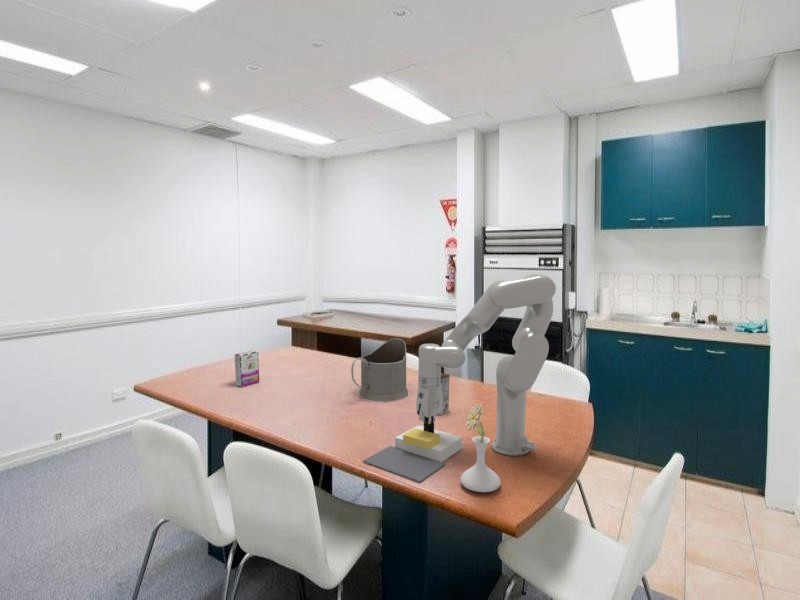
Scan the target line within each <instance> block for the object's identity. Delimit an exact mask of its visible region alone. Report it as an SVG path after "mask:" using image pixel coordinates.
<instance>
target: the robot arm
mask: <svg viewBox="0 0 800 600" xmlns="http://www.w3.org/2000/svg"><path fill="white" fill-rule="evenodd" d="M556 290H557V289H556V283H555V282H554V280H553V279H552V278H550V277H549V276H547V275H545V274H544V275H543V274H539V273H537V274H536V273H532V274H527V275H526V276H525V277H524V278H522V279H517V280H511V281H505V280H496V281H494V282H492V283H491V284H490V285H489V286H488V288H486V290H485V291H484V293H483V294H482V295H481V296H480V298H479V299H478V300H477V302H476V303H475V305H474V306H473V307H472V308H471V310H470V311H469V312H468V313H467V314H466V316H464V318H462V320H461V321H460V322H459V323H458V324H457V325H456V326H455V327H454V329H452V331H451V332H450V333H449V334H448V336H447V337H446V338H445V340H444V341H443V342H442V344H441V346H440V345H439V344H436V343H423V344H421V345H419V347H418V376H417V377H418V380H417V383H418V384H417V385H418V388H417V391H416V393H417V394H416V405H415V406H416V407H415V409H416V415H417V416H418V421H421V422H422V423H423V426H424V431H427V432H431V433H434V429H435V422H436V417H437V414H438V413H440V412H441V411H442V410H443V392H442V385H441V373H442V368H447V369H458V368H461V367H462V366H463V365H464V364H465V361H466V353H465V350H466V349H467V347H468V346H469V344H471V343H472V341H473V340H474V339H475V338H476V337H478V336H479V335H482V334H484V333H486V332H487V331H489V330H490V329H491V327H492V326H493V325H494V324H495V322H496V321H497V320H498V318H499V317H500V316H501V314H503V312H504V311H505V309H506V310H508V309H516V308H522V307H526V309H525V312H524V314H523V317H522V319H521V321H520V323H519V325H518V328H517V329H516V331H515V333H514V335H513V337H512V342H511V345H512V348H513V349H514V351H515V353H514V354H513V355H506V356H504V357H502V358H501V359H500V360H499V362H498V363H497V366H496V370H495V376H496V378H495V379H496V398H497V399H496V425H495V426H496V427H495V429H496V430H495V431H496V432H495V439H494V440H492V441H491V445H490V446H491V448H492V450H493V451H495V452H497V453H499V454H501V455H505V456H511V457H513V456H523V455H526V454H528V453H529V452H530V451H533V452H536V451H537V445H536V442H533V441H530V440H529V439H528V437H529V436H528V435H526V415H527V413H526V411H527V410H526V409H527V408H526V405H527V392H528V391H529V390H530V389H531V388H532V387H533V386H534V384H535V383H536V380H537V379H538V376H539V374H540V372H541V370H542V368H543V366H544V364H545V362H546V360H547V359H548V358H547V357H548V356H549V355H548V354H549V349H550V345H549V341H548V339H547V338H546V336H545V335H546V332H547V330H548V327H549V325H550V323H551V320H552V318H553V314H554V301H553V297H554V296H555V294H556Z"/></svg>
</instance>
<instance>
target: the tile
mask: <svg viewBox="0 0 800 600" xmlns="http://www.w3.org/2000/svg"><path fill="white" fill-rule="evenodd" d="M413 428H414V427H413ZM406 432H407V431H406ZM404 433H405V432H404ZM403 442H404V443H408V444H411V445H415V446H418V447H422V448H425V449H430V448H432V447H433V446H435V445H436V444H438V443H439V442H440V435H439V434H435V433H431V432H427V431H423V430H420V429H416V428H414V429H413V430H411V431H409V432H407V433H405V434H404V435H403Z"/></svg>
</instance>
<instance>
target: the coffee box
mask: <svg viewBox="0 0 800 600" xmlns="http://www.w3.org/2000/svg"><path fill="white" fill-rule="evenodd" d="M441 385H442V392H443V410H442V411H441V412H440V413H438V414H437V415H438V416H442V415H445V414H447V413H449V412H450V409H449V408H450V374H446V373H443V372H441ZM437 415H436V416H437Z"/></svg>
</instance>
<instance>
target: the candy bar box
mask: <svg viewBox="0 0 800 600" xmlns="http://www.w3.org/2000/svg"><path fill="white" fill-rule="evenodd" d="M259 362H260V361H259V351H258V350H249V351H243V352H239V353H236V354H234V368H235V372H234V374H235V386H236V385H237V386H236V387H238V386H241V387H240V388H244V387H243V386H245V387H248V386H247V385H249V386H251V385H250V384H252V385H255V384H258V383H257V382H259V383H260V369H259V368H260V366H259V365H260V363H259ZM254 383H255V384H254Z"/></svg>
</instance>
